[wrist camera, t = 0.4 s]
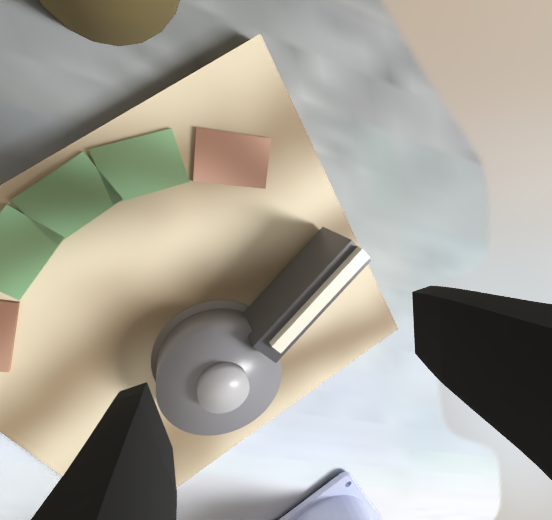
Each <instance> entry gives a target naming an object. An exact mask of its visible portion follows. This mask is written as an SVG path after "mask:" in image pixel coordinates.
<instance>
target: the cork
mask: <svg viewBox="0 0 552 520" xmlns="http://www.w3.org/2000/svg"><path fill="white" fill-rule="evenodd" d="M179 1H180V0H39V2H40V3H41V4H42V6H43V7H44V8H45V9H46V10H47V11H48V12H49V13H51V14H52V15H53V16H54V17H55V18H56V19H57V20H59V21H60V22H61V23H62V24H63V25H64V26H65V27H67V28H68V29H70V30H72V31H74V32H76V33H78V34H80V35H82V36H84V37H86V38H88V39H90V40H92V41H94V42H99V43H105V44H110V45H116V46H124V45H130V44H137V43H143V42H144V41H146V40H148V39H149V38H151V37H153V36H155V35H156V34H158V33H160V32H161V31H162V30H163V29H164V28H165V26H166V25H167V24H168V23H169V21H170V20H171V19H172V17H173V16H174V15H175V14H176V11H177V8H178V4H179Z"/></svg>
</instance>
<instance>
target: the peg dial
mask: <svg viewBox="0 0 552 520" xmlns="http://www.w3.org/2000/svg"><path fill="white" fill-rule="evenodd" d="M369 258H370V257H369V255H368V254H367V253H366V252H365V251H364V250H363V249H362V248H360V247H358V246H357V245H356V244H355V243H354V242H353V241H352V240H351V239H349V238H346V237H344V236H342V235H340V234H338V233H336V232H333V231H331V230H329V229H327V228H325V227H322V228H321V229H320V230H319V231H318V232H317V234H316V235H315V236H314V237H313V238H312V239H311V240H310V241H309V242H308V243H307V244H306V245H305V247H304V248H303V249H302V250H301V251H300V252H299V253H298V254H297V255H296V256H295V257H294V258H293V260H292V261H291V262H290V263H289V264H288V265H287V266H286V267H285V268H284V269H283V270H282V271H281V273H280V274H279V275H278V276H277V277H276V278H275V279H274V280H273V281H272V282H271V283H270V284H269V285H268V287H267V288H266V289H265V290H264V291H263V292H262V293H261V294H260V295H259V296H258V297H257V298H256V300H255V301H254V302H253V303H252V304H251V305H250V306H249V307H248V308H247V309H246V310H245V311H244V312H241V311H238V310H233V309H224V308H220V309H210V310H205V311H202V312H199V313H196V314H194V315H192V316H190V317H188V318H186V319H185V320H183V321H182V322H180V323H179V324H178V325H177V326H176V327H175V328H174V329H172V330H171V332H170V333H169V334H168V335H167V337H166V338H165V340H164V342H163V343H162V346H161V348H160V350H159V354H158V359H157V372H156V399H157V403H158V406H159V408H160V411H161V412H162V414H163V415H164V417H165V418H166V419H167V420H168V421H169V422H170V423H171V424H172V425H174V426H175V427H177V428H178V429H180V430H183V431H185V432H187V433H191V434H195V435H203V436H212V435H221V434H226V433H229V432H233V431H235V430H238V429H240V428H242V427H244V426H246V425H248V424H249V423H251V422H252V421H254V420H255V419H256V418H258V417H259V416H260V415H261V414H262V413H263V412H264V411H265V410H266V409H267V408H268V407H269V406H270V404H271V403H272V401H273V400H274V398H275V396H276V394H277V392H278V389H279V387H280V383H281V377H282V366H281V361H280V358H281V357H282V356H283V355H284V354H285V353H286V352H287V351H288V350H289V349H290V348H291V347H292V345H293V344H294V343H295V342H296V341H297V340H298V339H299V338H300V337H301V336H302V335H303V334H304V333H305V331H306V330H307V329H308V328H309V327H310V326H311V325H312V324H313V323H314V322H315V321H316V320H317V319H318V317H319V316H320V315H321V314H322V313H323V312H324V311H325V310H326V309H327V308H328V307H329V306H330V305H331V303H332V302H333V301H334V300H335V299H336V298H337V297H338V296H339V295H340V294H341V293H342V292H343V290H344V289H345V288H346V287H347V286H348V285H349V284H350V283H351V282H352V281H353V280H354V279H355V278H356V276H357V275H358V274H359V273H360V272H361V271H362V270H363V269H364V268H365V267H366V266H367V265H368V264H369V262H370V259H369Z"/></svg>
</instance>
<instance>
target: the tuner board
mask: <svg viewBox="0 0 552 520" xmlns="http://www.w3.org/2000/svg"><path fill="white" fill-rule="evenodd" d="M322 227H325V228H327V229H329V230H331V231H333V232H336V233H338V234H340V235H342V236H344V237H346V238H349V239H351V240H352V241H353V242H354V243H355V244H356V245H357V246H358V247H360V246H359V244H358V242H357V240H356V238H355V236H354V233H353V231H352V229H351V227H350V225H349V223H348V221H347V218H346V216H345V214H344V212H343V210H342V208H341V206H340V203H339V201H338V199H337V197H336V195H335V193H334V191H333V188H332V186H331V184H330V182H329V180H328V178H327V176H326V173H325V171H324V169H323V167H322V165H321V163H320V161H319V158H318V156H317V154H316V152H315V150H314V148H313V146H312V143H311V141H310V139H309V137H308V135H307V133H306V131H305V128H304V126H303V124H302V122H301V120H300V118H299V116H298V113H297V111H296V109H295V107H294V105H293V103H292V101H291V98H290V96H289V94H288V92H287V90H286V88H285V86H284V83H283V81H282V79H281V77H280V75H279V73H278V71H277V68H276V66H275V64H274V62H273V60H272V58H271V56H270V53H269V51H268V49H267V47H266V45H265V43H264V41H263V38H262V36H261V34H259V35H257V36H256V37H254V38H252V39H251V40H249V41H247V42H245V43H244V44H242V45H240V46H238V47H237V48H235V49H233V50H232V51H230V52H228V53H226V54H225V55H223V56H221V57H220V58H218V59H216V60H214V61H213V62H211V63H209V64H208V65H206V66H204V67H202V68H201V69H199V70H197V71H196V72H194V73H192V74H190V75H189V76H187V77H185V78H184V79H182V80H180V81H178V82H177V83H175V84H173V85H171V86H170V87H168V88H166V89H165V90H163V91H161V92H159V93H158V94H156V95H154V96H153V97H151V98H149V99H147V100H146V101H144V102H142V103H141V104H139V105H137V106H135V107H134V108H132V109H130V110H129V111H127V112H125V113H123V114H122V115H120V116H118V117H116V118H115V119H113V120H111V121H110V122H108V123H106V124H104V125H103V126H101V127H99V128H98V129H96V130H94V131H92V132H91V133H89V134H87V135H86V136H84V137H82V138H80V139H79V140H77V141H75V142H74V143H72V144H70V145H68V146H67V147H65V148H63V149H61V150H60V151H58V152H56V153H55V154H53V155H51V156H49V157H48V158H46V159H44V160H43V161H41V162H39V163H37V164H36V165H34V166H32V167H31V168H29V169H27V170H25V171H24V172H22V173H20V174H19V175H17V176H15V177H13V178H12V179H10V180H8V181H6V182H5V183H3V184H1V185H0V432H1V433H3V434H4V435H5V436H7V437H8V438H10V439H11V440H12V441H14V442H15V443H17V444H18V445H19V446H21V447H22V448H23V449H25V450H26V451H28V452H29V453H30V454H32V455H33V456H35V457H36V458H37V459H39V460H40V461H42V462H43V463H44V464H46V465H47V466H49V467H50V468H51V469H53V470H54V471H55V472H57V473H58V474H60V475H61V476H62V477H63V475H64V474H65V472H66V471H67V469H68V468H69V466H70V465H71V463H72V462H73V460H74V459H75V457H76V456H77V454H78V453H79V452H80V450H81V449H82V447H83V446H84V444H85V443H86V441H87V440H88V438H89V437H90V435H91V434H92V432H93V431H94V429H95V428H96V426H97V424H98V423H99V421H100V420H101V418H102V417H103V415H104V414H105V412H106V411H107V409H108V408H109V406H110V404H111V403H112V401H113V400H114V398H115V397H116V396H117V394H118V393H119V391H122V390H125V389H128V388H131V387H134V386H137V385H140V384H143V383H146V382H147V384H148V386H149V389H150V391H151V394H152V396H153V399H154V401H155V404H156V406H157V409H158V412H159V414H160V417H161V419H162V422H163V424H164V427H165V429H166V432H167V434H168V437H169V439H170V442H171V445H172V447H173V457H174V467H175V478H176V488H177V487H178V486H180V485H181V484H182V483H184V482H185V481H186V480H188V479H189V478H191V477H192V476H193V475H195V474H196V473H198V472H199V471H200V470H202V469H203V468H205V467H206V466H207V465H209V464H210V463H212V462H213V461H214V460H216V459H217V458H219V457H220V456H221V455H223V454H224V453H225V452H227V451H228V450H230V449H231V448H232V447H234V446H235V445H237V444H238V443H239V442H241V441H242V440H244V439H245V438H246V437H248V436H249V435H251V434H252V433H253V432H255V431H256V430H258V429H259V428H260V427H262V426H263V425H264V424H266V423H267V422H269V421H270V420H271V419H273V418H274V417H276V416H277V415H278V414H280V413H281V412H283V411H284V410H285V409H287V408H288V407H290V406H291V405H292V404H294V403H295V402H297V401H298V400H299V399H301V398H302V397H303V396H305V395H306V394H308V393H309V392H310V391H312V390H313V389H315V388H316V387H317V386H319V385H320V384H322V383H323V382H324V381H326V380H327V379H329V378H330V377H331V376H333V375H334V374H336V373H337V372H338V371H340V370H341V369H342V368H344V367H345V366H347V365H348V364H349V363H351V362H352V361H354V360H355V359H356V358H358V357H359V356H361V355H362V354H363V353H365V352H366V351H368V350H369V349H370V348H372V347H373V346H375V345H376V344H377V343H379V342H380V341H382V340H383V339H384V338H386V337H387V336H388V335H390V334H391V333H393V332H394V331H395V330H397V329H398V328H397V325H396V323H395V321H394V319H393V317H392V315H391V313H390V310H389V308H388V306H387V304H386V302H385V300H384V298H383V295H382V293H381V291H380V289H379V287H378V285H377V283H376V280H375V278H374V276H373V274H372V272H371V270H370V268H369V266H368V265H367V266H366V267H365V268H364V269H363V270H362V271H361V272H360V273H359V274H358V275H357V276H356V278H355V279H354V280H353V281H352V282H351V283H350V284H349V285H348V286H347V287H346V288H345V289H344V290H343V292H342V293H341V294H340V295H339V296H338V297H337V298H336V299H335V300H334V301H333V302H332V303H331V305H330V306H329V307H328V308H327V309H326V310H325V311H324V312H323V313H322V314H321V315H320V316H319V317H318V319H317V320H316V321H315V322H314V323H313V324H312V325H311V326H310V327H309V328H308V329H307V330H306V331H305V333H304V334H303V335H302V336H301V337H300V338H299V339H298V340H297V341H296V342H295V343H294V344H293V345H292V347H291V348H290V349H289V350H288V351H287V352H286V353H285V354H284V355H283V356H282V357H281V358H280V361H281V366H282V377H281V383H280V387H279V389H278V392H277V394H276V396H275V398H274V400H273V401H272V403H271V404H270V406H269V407H268V408H267V409H266V410H265V411H264V412H263V413H262V414H261V415H260V416H259V417H258V418H256V419H255V420H254V421H252V422H251V423H249V424H248V425H246V426H244V427H242V428H240V429H238V430H235V431H233V432H229V433H226V434H221V435H212V436H203V435H195V434H191V433H187V432H185V431H183V430H180V429H178V428H177V427H175V426H174V425H172V424H171V423H170V422H169V421H168V420H167V419H166V418H165V417H164V415H163V414H162V412H161V411H160V408H159V406H158V403H157V399H156V372H157V359H158V354H159V350H160V348H161V346H162V343H163V342H164V340H165V338H166V337H167V335H168V334H169V333H170V332H171V330H172V329H174V328H175V327H176V326H177V325H178V324H179V323H180V322H182V321H183V320H185V319H186V318H188V317H190V316H192V315H194V314H196V313H199V312H202V311H205V310H210V309H220V308H224V309H233V310H238V311H241V312H244V311H245V310H246V309H247V308H248V307H249V306H250V305H251V304H252V303H253V302H254V301H255V300H256V298H257V297H258V296H259V295H260V294H261V293H262V292H263V291H264V290H265V289H266V288H267V287H268V285H269V284H270V283H271V282H272V281H273V280H274V279H275V278H276V277H277V276H278V275H279V274H280V273H281V271H282V270H283V269H284V268H285V267H286V266H287V265H288V264H289V263H290V262H291V261H292V260H293V258H294V257H295V256H296V255H297V254H298V253H299V252H300V251H301V250H302V249H303V248H304V247H305V245H306V244H307V243H308V242H309V241H310V240H311V239H312V238H313V237H314V236H315V235H316V234H317V232H318V231H319V230H320V229H321V228H322Z"/></svg>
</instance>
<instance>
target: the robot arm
mask: <svg viewBox="0 0 552 520" xmlns="http://www.w3.org/2000/svg"><path fill="white" fill-rule="evenodd" d="M412 294H413V316H414V338H415V354H416V355H417V356H418V357H419V358H420V359H421V360H422V362H423V363H424V364H425V365H426V366H427V367H428V369H429V370H430V371H431V372H432V373H433V374H434V375H435V376H436V377H437V378H438V379H439V380H440V381H441V382H442V383H443V384H444V385H445V386H446V387H447V388H449V389H450V390H451V391H452V392H453V393H454V394H455V395H457V396H458V397H459V398H460V399H461V400H462V401H464V403H466V404H467V405H468V406H469V407H470V408H471V409H473V410H474V411H475V412H476V413H477V414H478V415H480V416H481V417H482V418H483V419H485V420H486V421H487V422H488V423H489V424H490V425H492V426H493V427H494V428H495V429H496V430H497V431H498V432H500V433H501V434H502V435H503V436H504V437H506V438H507V439H508V440H509V441H510V442H511V443H513V444H514V445H515V446H516V447H517V448H518V449H520V450H521V451H522V452H523V453H524V454H525V455H526V456H527V457H528V458H529V459H531V460H532V461H533V462H534V463H535V464H536V465H537V466H538V467H539V468H540V469H541V470H542V471H543V472H544V473H545V474H546V475H547V476H548V477H549V478H550V479H551V480H552V304H545V303H539V302H533V301H527V300H521V299H515V298H510V297H504V296H498V295H492V294H487V293H481V292H475V291H469V290H462V289H456V288H449V287H441V286H429V287H426V288H423V289H420V290H417V291H414V292H412ZM176 508H177V490H176V478H175V467H174V457H173V447H172V445H171V442H170V439H169V437H168V434H167V432H166V429H165V427H164V424H163V422H162V419H161V417H160V414H159V412H158V409H157V406H156V404H155V401H154V399H153V396H152V394H151V391H150V389H149V386H148V384H147V382H146V383H143V384H140V385H137V386H134V387H131V388H128V389H125V390H122V391H119V393H118V394H117V396H116V397H115V398H114V400H113V401H112V403H111V404H110V406H109V408H108V409H107V411H106V412H105V414H104V415H103V417H102V418H101V420H100V421H99V423H98V424H97V426H96V428H95V429H94V431H93V432H92V434H91V435H90V437H89V438H88V440H87V441H86V443H85V444H84V446H83V447H82V449H81V450H80V452H79V453H78V454H77V456H76V457H75V459H74V460H73V462H72V463H71V465H70V466H69V468H68V469H67V471H66V472H65V474H64V475H63V477H62V478H61V479H60V481H59V482H58V483H57V485H56V486H55V488H54V489H53V490H52V492H51V493H50V494H49V496H48V497H47V498H46V500H45V501H44V503H43V504H42V505H41V507H40V508H39V509H38V511H37V512H36V514H35V515H34V516H33V518H32V519H31V520H176ZM279 520H383V519H382V517H381V516H380V515H379V513H378V512H377V511H376V509H375V508H374V506H373V505H372V504H371V502H370V501H369V500H368V498H367V497H366V495H365V494H364V493H363V491H362V490H361V489H360V487H359V486H358V484H357V483H356V482H355V480H354V479H353V478H352V476H351V475H350V474H349V472H347V471H344V472H342V473H340V474H339V475H337V476H336V477H335V478H333V479H332V480H331V481H330V482H328V483H327V484H326V485H324V486H323V487H322V488H320V489H319V490H318V491H316V492H315V493H314V494H312V495H311V496H310V497H308V498H307V499H306V500H304V501H303V502H302V503H300V504H299V505H298V506H296V507H295V508H294V509H292V510H291V511H290V512H288V513H287V514H286V515H284V516H283V517H282V518H280V519H279Z"/></svg>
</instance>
